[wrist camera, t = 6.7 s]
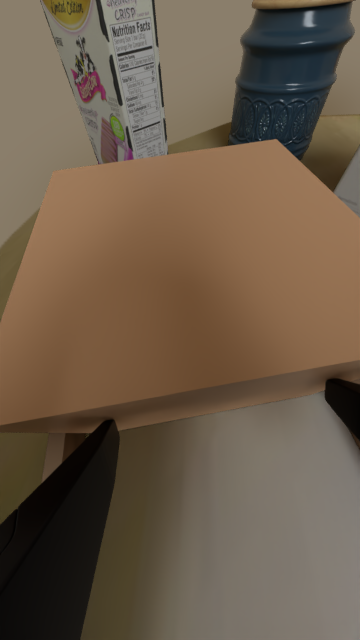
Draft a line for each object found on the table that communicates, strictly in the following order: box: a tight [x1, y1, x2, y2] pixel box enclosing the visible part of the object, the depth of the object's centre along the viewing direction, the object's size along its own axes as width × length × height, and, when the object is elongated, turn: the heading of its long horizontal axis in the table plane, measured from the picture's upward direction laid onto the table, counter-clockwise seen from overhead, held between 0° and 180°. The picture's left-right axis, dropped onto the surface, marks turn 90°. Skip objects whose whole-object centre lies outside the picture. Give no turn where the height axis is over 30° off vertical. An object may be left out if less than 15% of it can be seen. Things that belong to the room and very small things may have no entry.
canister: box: [228, 0, 355, 161], centre depth 27 cm, size 13×13×18 cm
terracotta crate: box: [0, 139, 360, 433], centre depth 14 cm, size 15×15×10 cm
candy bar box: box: [40, 0, 168, 164], centre depth 22 cm, size 11×5×16 cm, turn 40°
